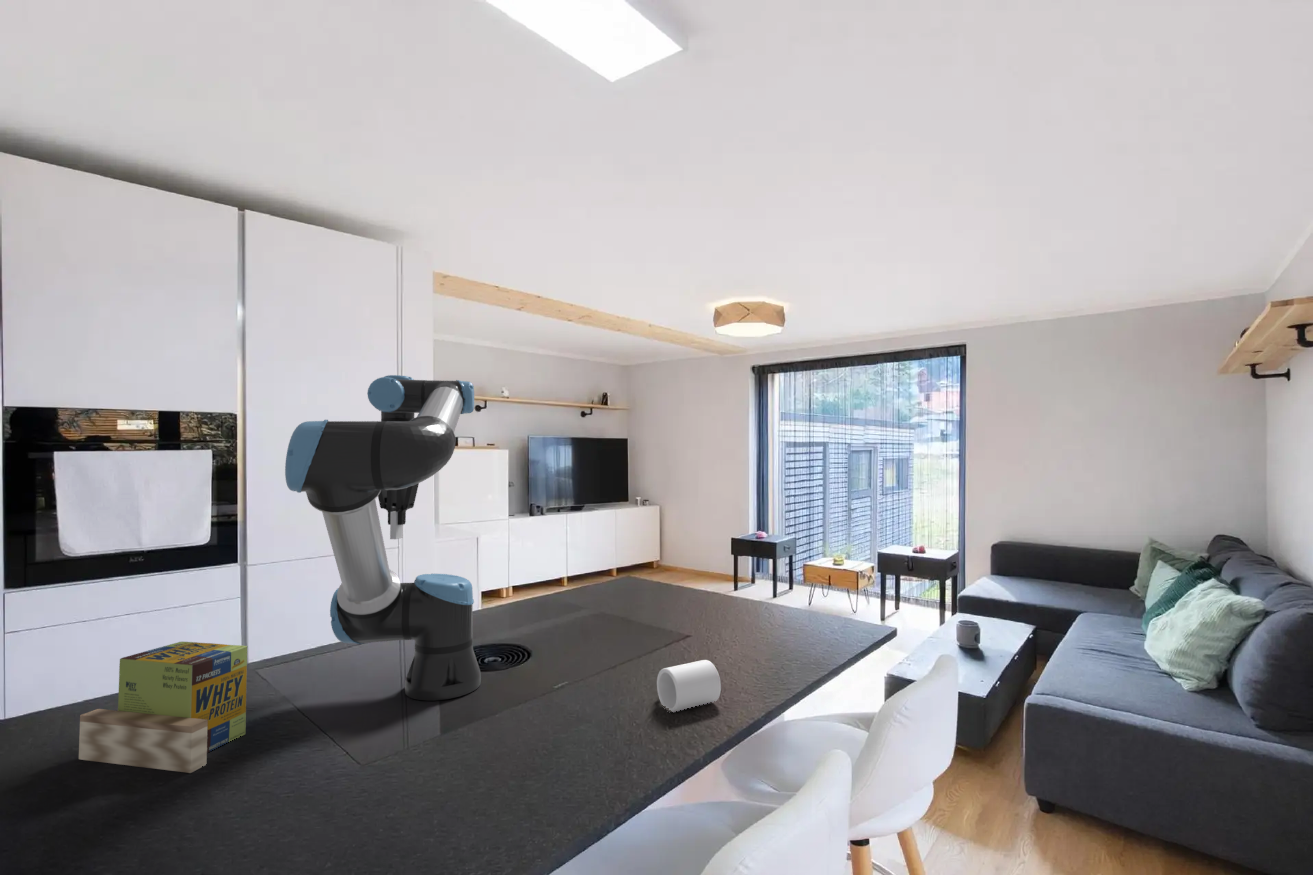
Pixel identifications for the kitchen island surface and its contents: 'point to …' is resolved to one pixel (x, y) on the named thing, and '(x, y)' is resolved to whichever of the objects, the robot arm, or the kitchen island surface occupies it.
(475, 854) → the kitchen island surface
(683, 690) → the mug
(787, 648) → the kitchen island surface
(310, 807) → the kitchen island surface
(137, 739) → the rail
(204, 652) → the protein box
